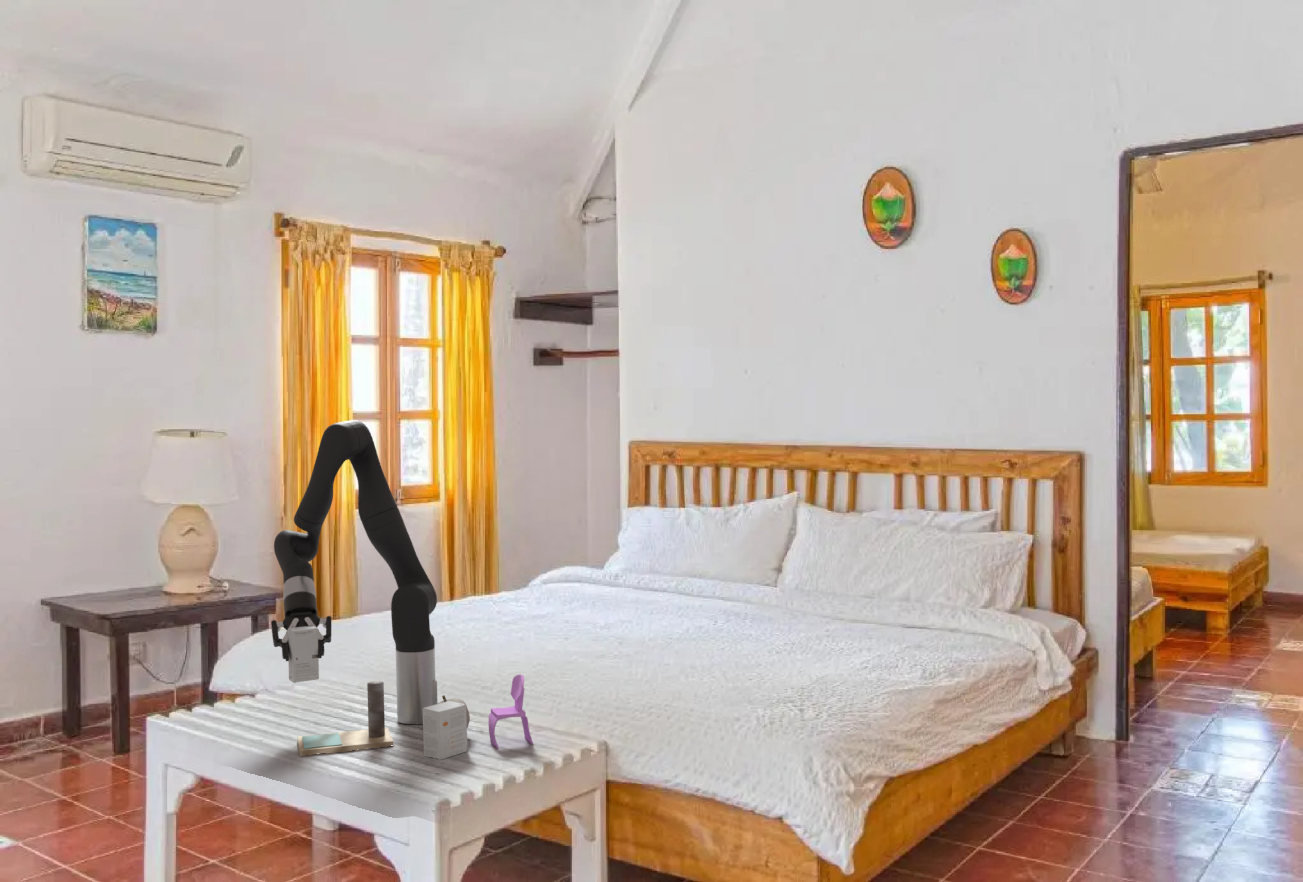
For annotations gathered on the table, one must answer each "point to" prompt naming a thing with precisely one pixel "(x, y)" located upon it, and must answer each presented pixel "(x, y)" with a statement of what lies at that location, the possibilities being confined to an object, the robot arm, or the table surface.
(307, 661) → the skincare box
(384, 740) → the board
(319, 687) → the table surface
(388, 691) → the table surface
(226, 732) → the table surface
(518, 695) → the toy chair
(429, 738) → the small box
